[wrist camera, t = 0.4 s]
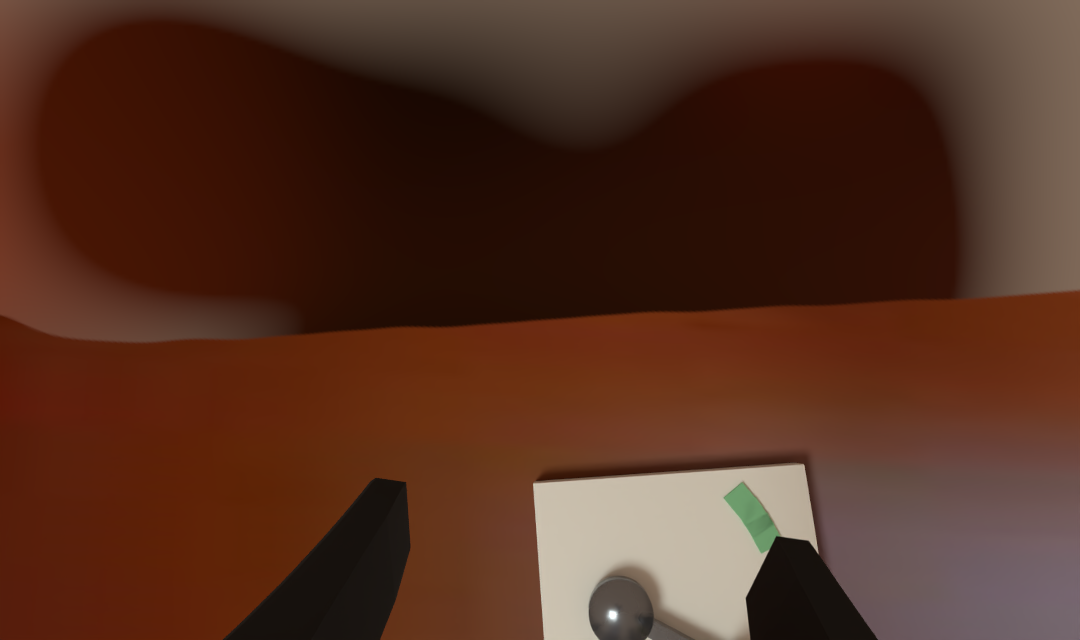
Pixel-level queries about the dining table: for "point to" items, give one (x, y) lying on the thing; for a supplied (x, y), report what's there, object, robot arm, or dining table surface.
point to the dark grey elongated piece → (626, 613)
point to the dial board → (666, 542)
